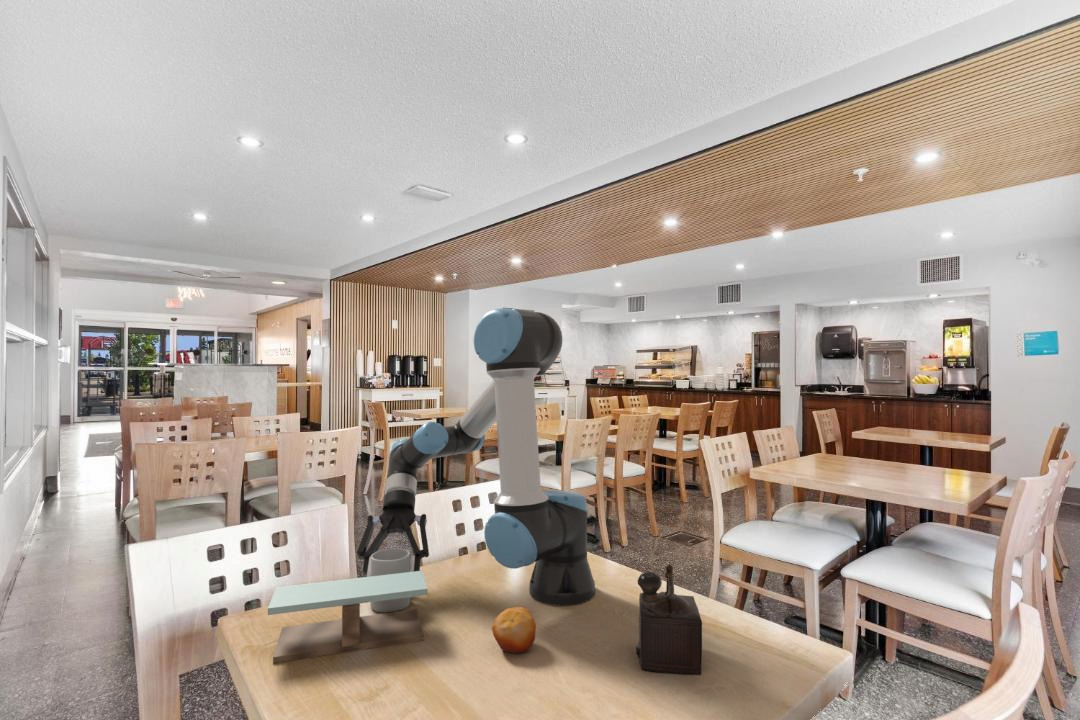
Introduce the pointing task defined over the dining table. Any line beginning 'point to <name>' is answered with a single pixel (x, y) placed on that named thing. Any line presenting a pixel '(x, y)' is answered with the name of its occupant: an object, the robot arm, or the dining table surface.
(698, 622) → the manual coffee grinder
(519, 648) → the fruit
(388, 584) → the plank
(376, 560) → the mug
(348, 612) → the fulcrum stand
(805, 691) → the dining table surface
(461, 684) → the dining table surface
